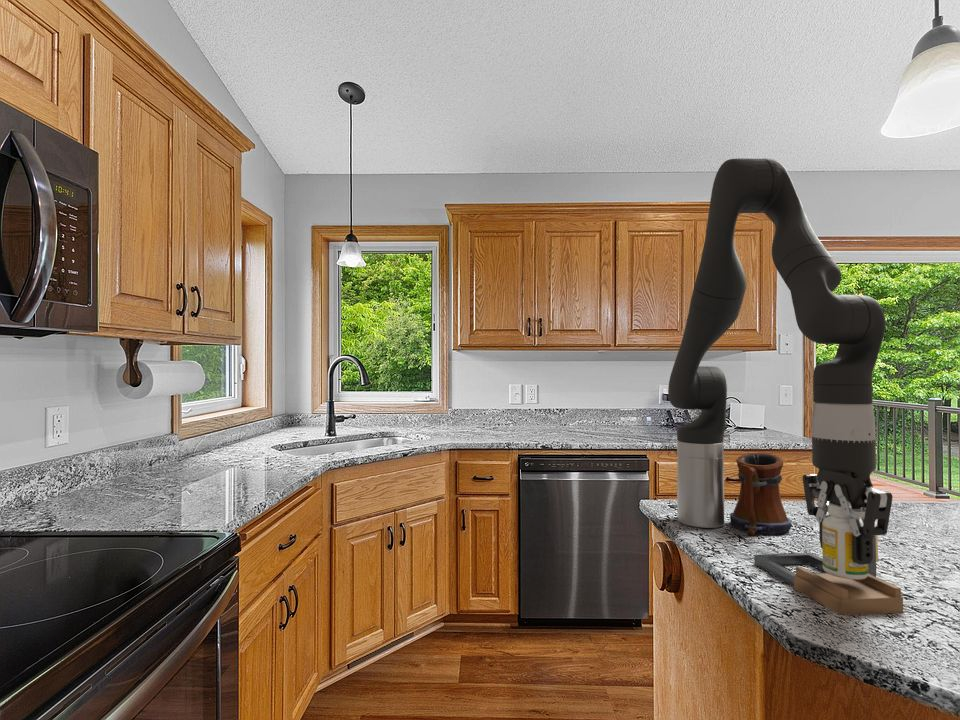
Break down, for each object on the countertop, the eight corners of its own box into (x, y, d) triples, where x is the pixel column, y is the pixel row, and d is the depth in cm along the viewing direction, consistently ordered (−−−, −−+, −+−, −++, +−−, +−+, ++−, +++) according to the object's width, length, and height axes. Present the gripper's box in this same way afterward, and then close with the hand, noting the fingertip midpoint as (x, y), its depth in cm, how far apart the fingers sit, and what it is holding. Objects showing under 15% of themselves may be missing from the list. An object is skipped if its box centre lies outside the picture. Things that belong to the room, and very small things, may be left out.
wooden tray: (794, 588, 81) (794, 566, 81) (850, 586, 82) (850, 564, 82) (840, 615, 72) (840, 590, 72) (903, 612, 73) (902, 588, 73)
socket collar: (754, 564, 91) (754, 554, 91) (810, 561, 92) (809, 552, 92) (795, 587, 81) (794, 577, 81) (857, 584, 82) (856, 574, 83)
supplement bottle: (818, 573, 77) (817, 504, 77) (827, 564, 81) (826, 498, 81) (865, 583, 73) (863, 511, 73) (871, 573, 77) (870, 504, 77)
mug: (778, 547, 100) (777, 465, 100) (712, 536, 107) (712, 459, 108) (796, 526, 114) (795, 454, 114) (737, 517, 121) (736, 449, 121)
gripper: (912, 441, 71) (914, 573, 70) (829, 429, 85) (831, 539, 85) (858, 442, 70) (861, 576, 69) (784, 430, 84) (786, 541, 84)
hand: (844, 555), depth 77 cm, fingers closed on supplement bottle, 5 cm apart
